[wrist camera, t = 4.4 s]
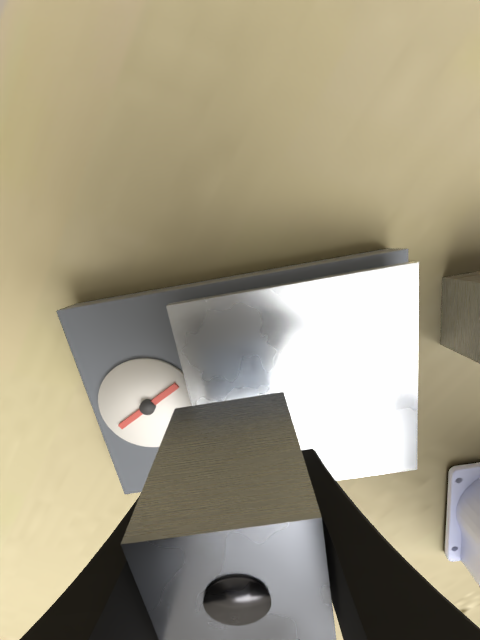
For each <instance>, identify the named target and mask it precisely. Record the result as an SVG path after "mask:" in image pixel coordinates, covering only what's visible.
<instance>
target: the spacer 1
mask: <svg viewBox="0 0 480 640" xmlns="http://www.w3.org/2000/svg"><path fill="white" fill-rule="evenodd" d="M121 547H122V549H123V552H124V554H125V557H126V559H127V562H128V564H129V567H130V569H131V572H132V574H133V577H134V579H135V582H136V584H137V586H138V589H139V591H140V594H141V596H142V599H143V601H144V604H145V606H146V609H147V611H148V614H149V616H150V619H151V621H152V624H153V626H154V628H155V631H156V633H157V636H158V638H159V640H336V633H335V625H334V616H333V608H332V599H331V591H330V582H329V574H328V566H327V557H326V549H325V540H324V532H323V523H322V517H321V513H320V510H319V507H318V503H317V500H316V497H315V494H314V490H313V487H312V484H311V480H310V477H309V474H308V470H307V467H306V464H305V461H304V457H303V454H302V451H301V447H300V444H299V441H298V438H297V434H296V431H295V428H294V424H293V421H292V418H291V414H290V411H289V408H288V405H287V401H286V398H285V395H284V392H278V393H272V394H265V395H259V396H252V397H246V398H240V399H233V400H227V401H220V402H214V403H207V404H201V405H194V406H188V407H181V408H175V409H174V412H173V414H172V417H171V419H170V422H169V424H168V427H167V429H166V432H165V434H164V437H163V439H162V442H161V444H160V447H159V449H158V452H157V454H156V457H155V459H154V462H153V464H152V467H151V469H150V472H149V474H148V477H147V479H146V482H145V484H144V487H143V489H142V492H141V494H140V497H139V499H138V502H137V504H136V507H135V509H134V512H133V514H132V517H131V519H130V522H129V524H128V527H127V529H126V532H125V534H124V537H123V539H122V542H121Z"/></svg>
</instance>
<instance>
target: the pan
mask: <svg viewBox="0 0 480 640" xmlns="http://www.w3.org/2000/svg"><path fill="white" fill-rule="evenodd" d="M166 308H167V312H168V316H169V319H170V323H171V327H172V331H173V335H174V339H175V343H176V347H177V351H178V355H179V358H180V362H181V366H182V370H183V374H184V378H185V382H186V386H187V390H188V394H189V397H190V401H191V405H192V406H194V405H201V404H207V403H214V402H220V401H227V400H233V399H240V398H246V397H252V396H259V395H265V394H272V393H278V392H284V395H285V398H286V401H287V405H288V408H289V411H290V414H291V418H292V421H293V424H294V428H295V431H296V434H297V438H298V441H299V444H300V447H301V450H305V449H314V450H315V451H316V452H317V454H318V456H319V457H320V459H321V461H322V462H323V464H324V465H325V466H326V468H327V469H328V471H329V472H330V474H331V475H332V476H333V478H334V479H335V480H336V481H338V480H345V479H353V478H360V477H367V476H374V475H381V474H389V473H396V472H403V471H410V470H417V436H418V320H419V262H412V261H411V262H405V263H399V264H393V265H388V266H382V267H376V268H370V269H365V270H359V271H353V272H347V273H342V274H336V275H330V276H324V277H319V278H313V279H307V280H301V281H296V282H290V283H284V284H278V285H273V286H267V287H261V288H255V289H250V290H244V291H238V292H232V293H227V294H221V295H215V296H209V297H204V298H198V299H192V300H186V301H181V302H175V303H169V304H168V305H167V306H166Z"/></svg>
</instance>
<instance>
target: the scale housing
mask: <svg viewBox="0 0 480 640" xmlns="http://www.w3.org/2000/svg"><path fill="white" fill-rule="evenodd" d="M405 262H408V249H382V250H376V251H370V252H365V253H359V254H353V255H348V256H342V257H336V258H331V259H325V260H319V261H314V262H308V263H302V264H297V265H291V266H285V267H280V268H274V269H268V270H263V271H257V272H251V273H246V274H240V275H235V276H229V277H223V278H218V279H212V280H206V281H201V282H195V283H189V284H184V285H178V286H172V287H167V288H161V289H155V290H150V291H144V292H138V293H133V294H127V295H121V296H116V297H110V298H104V299H99V300H93V301H87V302H82V303H77V304H74V305H71V306H68V307H66V308H63V309H60V310H57V314H58V317H59V320H60V322H61V325H62V328H63V330H64V333H65V336H66V338H67V341H68V344H69V346H70V349H71V352H72V354H73V357H74V360H75V362H76V365H77V368H78V370H79V373H80V376H81V378H82V381H83V384H84V386H85V389H86V392H87V394H88V397H89V400H90V402H91V405H92V408H93V410H94V413H95V416H96V418H97V421H98V424H99V427H100V429H101V432H102V435H103V437H104V440H105V443H106V445H107V448H108V451H109V453H110V456H111V459H112V461H113V464H114V467H115V469H116V472H117V475H118V477H119V480H120V483H121V485H122V488H123V491H124V493H125V494H130V493H137V492H142V489H143V487H144V484H145V482H146V479H147V477H148V474H149V472H150V469H151V467H152V464H153V462H154V459H155V457H156V454H157V452H158V449H159V447H160V444H161V442H162V439H163V437H164V434H165V432H166V429H167V427H168V424H169V422H170V419H171V417H172V414H173V412H174V409H175V408H181V407H188V406H192V405H191V401H190V397H189V394H188V390H187V386H186V382H185V378H184V374H183V370H182V366H181V362H180V358H179V355H178V351H177V347H176V343H175V339H174V335H173V331H172V327H171V323H170V319H169V316H168V312H167V308H166V306H167V305H168V304H169V303H175V302H181V301H186V300H192V299H198V298H204V297H209V296H215V295H221V294H227V293H232V292H238V291H244V290H250V289H255V288H261V287H267V286H273V285H278V284H284V283H290V282H296V281H301V280H307V279H313V278H319V277H324V276H330V275H336V274H342V273H347V272H353V271H359V270H365V269H370V268H376V267H382V266H388V265H393V264H399V263H405Z"/></svg>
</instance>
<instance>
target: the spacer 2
mask: <svg viewBox="0 0 480 640" xmlns="http://www.w3.org/2000/svg"><path fill="white" fill-rule="evenodd" d="M440 344H441V345H443V346H445V347H447V348H449V349H451V350H453V351H455V352H457V353H459V354H461V355H463V356H465V357H467V358H469V359H472V360H474V361H476V362H478V363H480V271H477V272H471V273H466V274H460V275H454V276H448V277H443V278H442V308H441V337H440Z"/></svg>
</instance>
